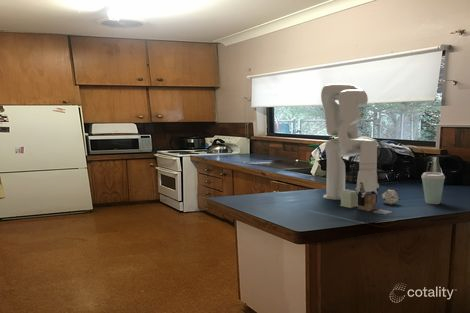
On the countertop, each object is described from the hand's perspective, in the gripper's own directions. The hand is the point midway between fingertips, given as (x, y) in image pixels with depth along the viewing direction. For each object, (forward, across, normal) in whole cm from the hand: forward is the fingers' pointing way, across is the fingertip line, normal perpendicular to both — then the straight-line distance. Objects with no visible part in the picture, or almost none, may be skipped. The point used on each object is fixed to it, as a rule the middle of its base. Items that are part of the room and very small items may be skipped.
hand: (367, 204), depth 181 cm
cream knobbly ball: (+3, -19, 0) cm, 19 cm away
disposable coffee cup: (+3, -39, +11) cm, 41 cm away
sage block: (+2, 0, -10) cm, 10 cm away
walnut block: (+2, 0, 0) cm, 2 cm away
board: (+3, 0, -1) cm, 3 cm away
